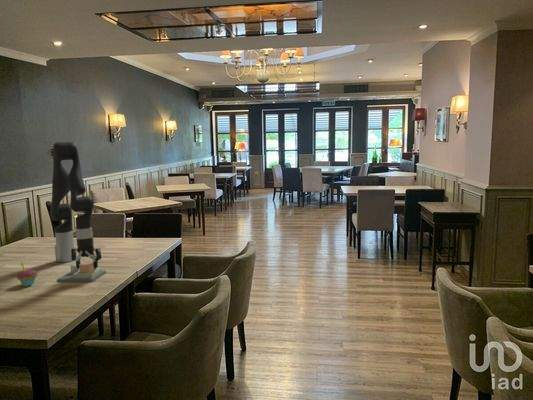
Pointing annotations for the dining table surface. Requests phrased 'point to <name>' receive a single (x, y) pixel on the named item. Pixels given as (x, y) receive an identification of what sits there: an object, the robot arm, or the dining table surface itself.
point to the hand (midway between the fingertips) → (87, 268)
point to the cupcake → (27, 276)
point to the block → (86, 267)
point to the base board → (81, 275)
